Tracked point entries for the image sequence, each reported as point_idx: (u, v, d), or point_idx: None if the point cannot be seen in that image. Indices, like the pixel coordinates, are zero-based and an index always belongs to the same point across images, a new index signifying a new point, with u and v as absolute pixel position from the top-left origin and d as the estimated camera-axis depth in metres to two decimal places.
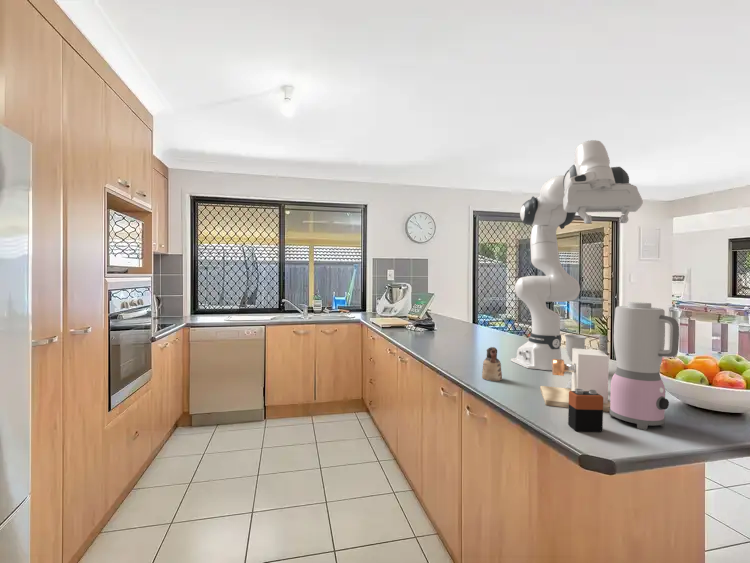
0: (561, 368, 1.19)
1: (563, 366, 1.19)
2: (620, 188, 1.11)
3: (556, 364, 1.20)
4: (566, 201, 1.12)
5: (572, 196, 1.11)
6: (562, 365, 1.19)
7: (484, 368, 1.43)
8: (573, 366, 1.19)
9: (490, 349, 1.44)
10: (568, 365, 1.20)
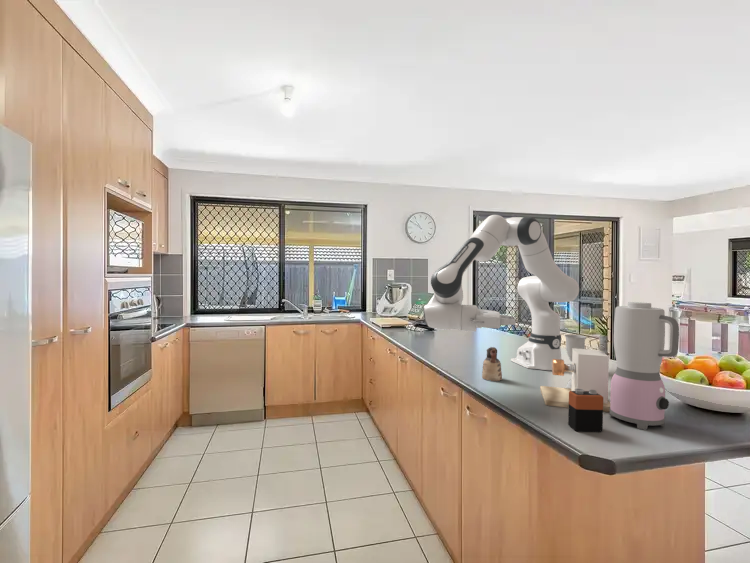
0: (561, 368, 1.19)
1: (563, 366, 1.19)
2: None
3: (556, 364, 1.20)
4: None
5: None
6: (562, 365, 1.19)
7: (484, 368, 1.43)
8: (573, 366, 1.19)
9: (490, 349, 1.44)
10: (568, 365, 1.20)
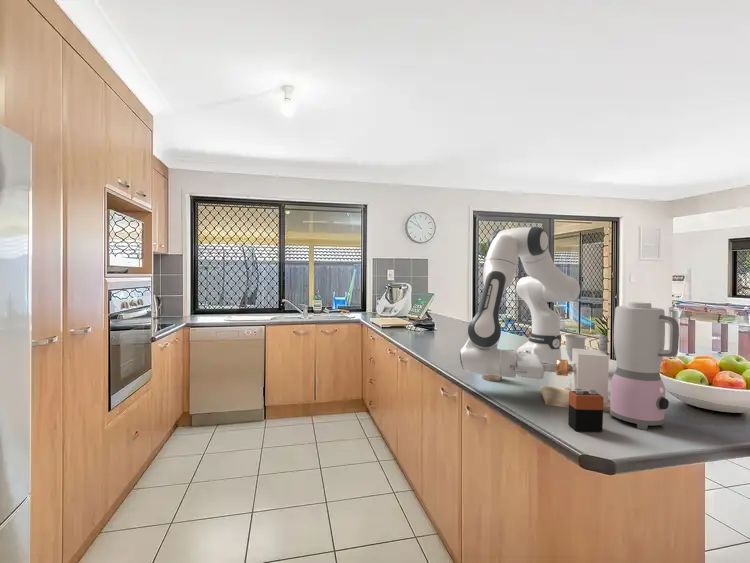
0: (565, 369, 1.19)
1: (567, 366, 1.19)
2: None
3: (560, 364, 1.19)
4: None
5: None
6: (566, 365, 1.19)
7: None
8: None
9: None
10: (572, 366, 1.20)
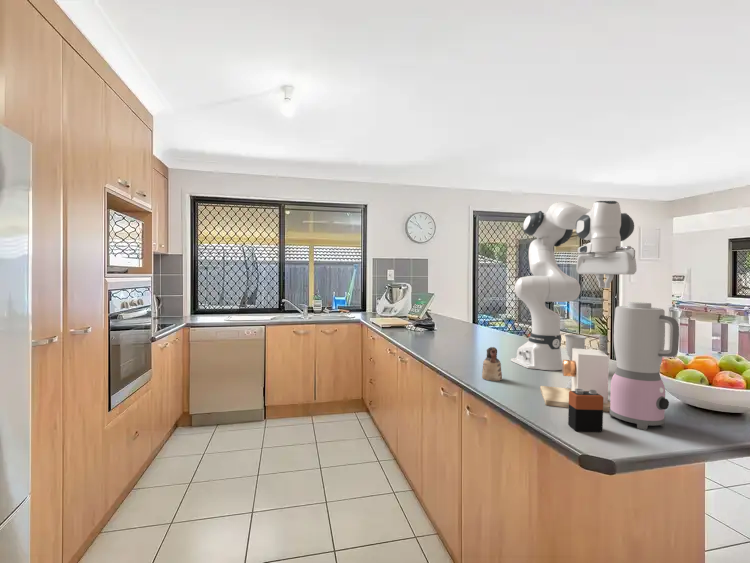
0: (572, 369, 1.18)
1: (574, 367, 1.18)
2: (614, 256, 1.26)
3: (567, 365, 1.19)
4: None
5: (579, 265, 1.39)
6: (573, 366, 1.18)
7: (484, 368, 1.43)
8: None
9: (490, 349, 1.44)
10: None
